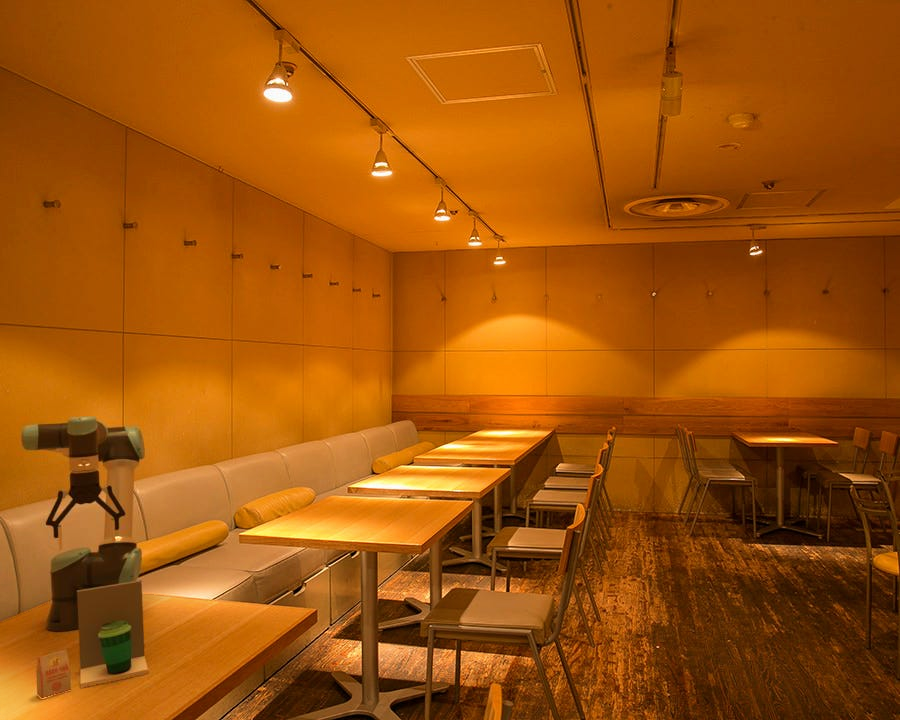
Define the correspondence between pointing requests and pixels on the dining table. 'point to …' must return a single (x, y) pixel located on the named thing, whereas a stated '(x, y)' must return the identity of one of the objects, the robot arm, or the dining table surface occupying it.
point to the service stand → (105, 608)
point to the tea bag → (53, 674)
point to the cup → (116, 646)
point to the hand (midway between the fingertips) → (87, 545)
